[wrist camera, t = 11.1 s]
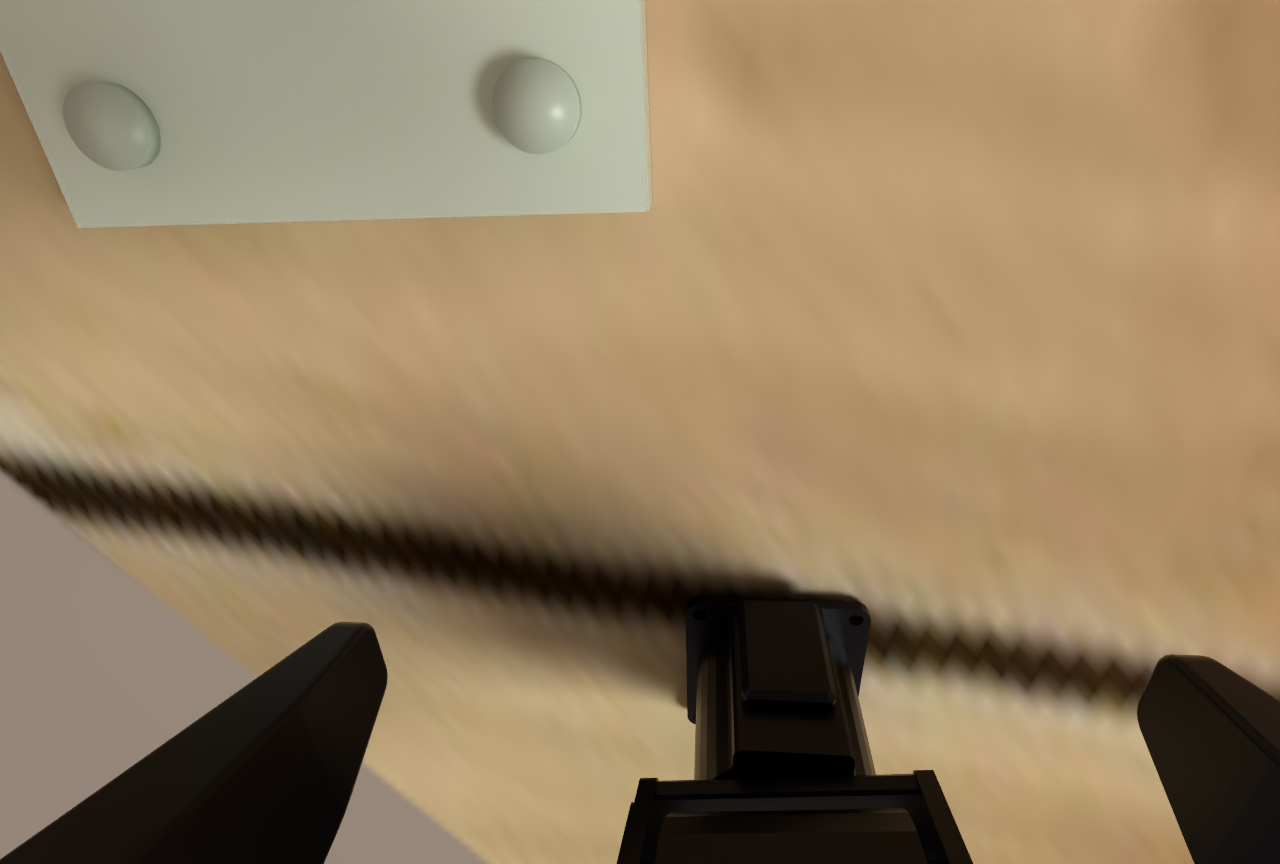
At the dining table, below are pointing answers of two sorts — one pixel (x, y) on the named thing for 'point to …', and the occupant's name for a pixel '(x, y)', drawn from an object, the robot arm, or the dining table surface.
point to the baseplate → (334, 107)
